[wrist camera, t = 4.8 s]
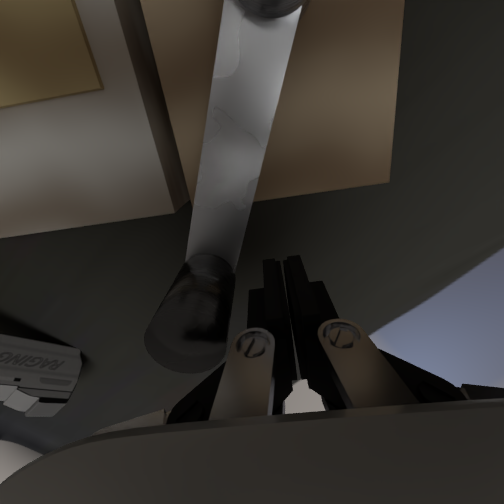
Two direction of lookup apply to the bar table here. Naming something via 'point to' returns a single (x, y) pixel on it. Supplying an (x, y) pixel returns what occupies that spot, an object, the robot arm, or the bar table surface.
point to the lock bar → (225, 181)
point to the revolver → (37, 375)
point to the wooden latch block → (178, 106)
